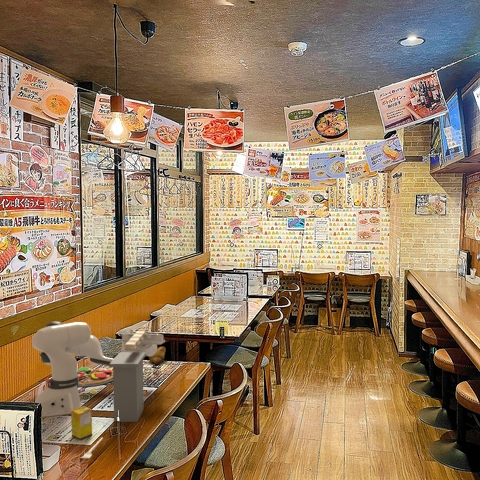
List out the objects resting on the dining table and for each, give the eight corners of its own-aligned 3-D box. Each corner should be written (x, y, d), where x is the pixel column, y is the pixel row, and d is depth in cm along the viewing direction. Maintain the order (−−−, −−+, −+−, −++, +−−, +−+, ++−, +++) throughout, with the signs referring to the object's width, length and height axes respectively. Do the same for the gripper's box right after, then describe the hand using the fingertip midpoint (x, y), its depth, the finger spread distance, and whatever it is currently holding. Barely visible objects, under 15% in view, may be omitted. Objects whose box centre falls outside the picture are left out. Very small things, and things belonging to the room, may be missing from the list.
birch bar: (137, 336, 252) (137, 330, 252) (146, 336, 252) (146, 330, 252) (125, 351, 226) (125, 344, 226) (134, 351, 226) (134, 344, 226)
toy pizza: (57, 388, 265) (56, 380, 265) (72, 371, 293) (72, 363, 293) (111, 387, 266) (110, 379, 266) (121, 370, 294) (121, 363, 293)
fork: (106, 439, 206) (106, 435, 206) (86, 462, 186) (86, 457, 186) (98, 439, 207) (98, 434, 206) (77, 462, 187) (77, 457, 187)
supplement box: (84, 431, 212) (83, 405, 211) (92, 435, 208) (92, 409, 208) (71, 436, 207) (70, 410, 207) (79, 440, 204) (79, 413, 203)
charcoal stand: (120, 407, 238) (119, 352, 236) (146, 407, 237) (145, 352, 236) (110, 423, 220) (109, 363, 218) (138, 423, 219) (137, 363, 218)
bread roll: (162, 364, 304) (162, 351, 304) (146, 364, 305) (145, 351, 304) (166, 358, 317) (166, 345, 317) (151, 358, 318) (150, 345, 317)
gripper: (165, 348, 259) (161, 341, 247) (124, 347, 259) (118, 340, 247) (166, 336, 262) (162, 328, 250) (126, 335, 262) (120, 327, 250)
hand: (140, 334), depth 248 cm, fingers closed on birch bar, 4 cm apart
